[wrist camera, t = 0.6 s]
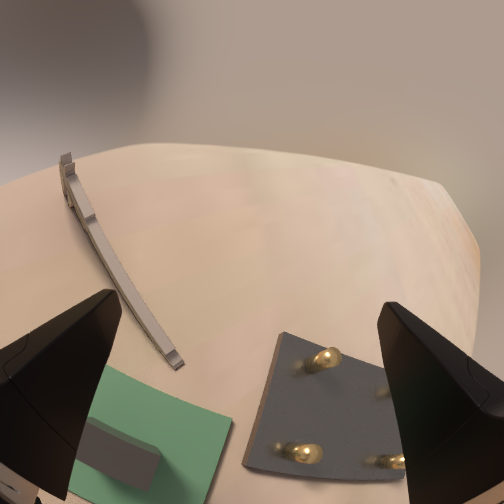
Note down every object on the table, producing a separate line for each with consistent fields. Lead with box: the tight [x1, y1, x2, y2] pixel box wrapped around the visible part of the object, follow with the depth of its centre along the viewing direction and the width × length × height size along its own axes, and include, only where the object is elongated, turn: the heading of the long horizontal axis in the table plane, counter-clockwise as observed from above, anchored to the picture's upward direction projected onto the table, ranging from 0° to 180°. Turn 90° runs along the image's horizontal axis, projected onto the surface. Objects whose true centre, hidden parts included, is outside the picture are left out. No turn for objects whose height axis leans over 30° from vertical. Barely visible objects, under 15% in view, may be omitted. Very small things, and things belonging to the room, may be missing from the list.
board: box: [68, 365, 232, 504], centre depth 13 cm, size 11×14×6 cm
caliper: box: [59, 152, 184, 370], centre depth 20 cm, size 20×1×6 cm, turn 45°
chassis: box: [242, 332, 406, 480], centre depth 20 cm, size 12×18×4 cm, turn 74°
